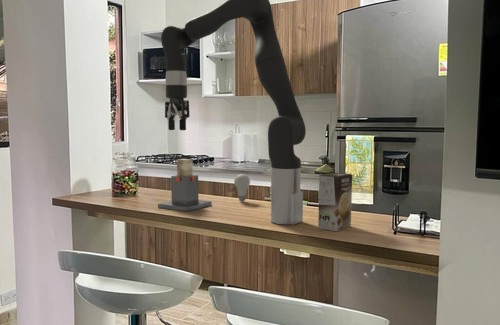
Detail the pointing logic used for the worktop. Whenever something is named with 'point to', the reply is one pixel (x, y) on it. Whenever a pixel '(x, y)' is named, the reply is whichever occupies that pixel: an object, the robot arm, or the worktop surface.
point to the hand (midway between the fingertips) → (177, 130)
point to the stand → (184, 195)
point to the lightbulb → (242, 185)
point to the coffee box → (335, 201)
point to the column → (184, 167)
